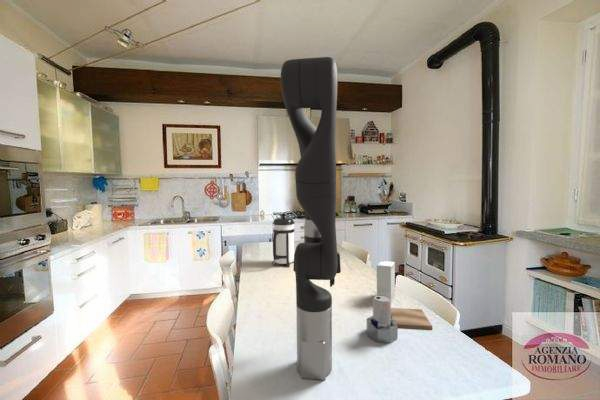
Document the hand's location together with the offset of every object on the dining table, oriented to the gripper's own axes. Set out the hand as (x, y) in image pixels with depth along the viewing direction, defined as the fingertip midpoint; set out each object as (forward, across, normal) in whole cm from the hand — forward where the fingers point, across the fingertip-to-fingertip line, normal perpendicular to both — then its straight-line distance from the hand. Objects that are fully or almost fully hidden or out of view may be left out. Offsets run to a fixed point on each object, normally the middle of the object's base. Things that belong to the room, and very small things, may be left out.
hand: (317, 285), depth 85 cm
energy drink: (+18, +20, +4) cm, 27 cm away
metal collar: (+17, +20, +4) cm, 27 cm away
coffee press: (+20, -25, +73) cm, 80 cm away
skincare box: (+18, +26, +32) cm, 45 cm away
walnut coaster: (+18, +31, +15) cm, 39 cm away
